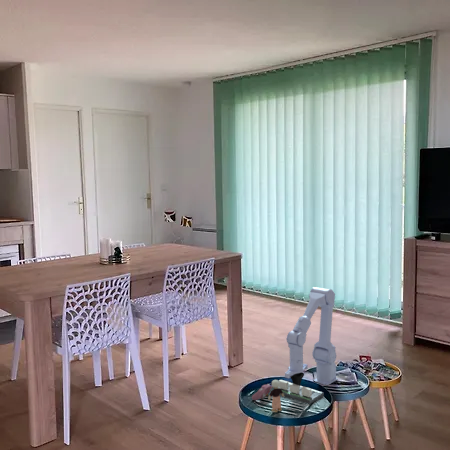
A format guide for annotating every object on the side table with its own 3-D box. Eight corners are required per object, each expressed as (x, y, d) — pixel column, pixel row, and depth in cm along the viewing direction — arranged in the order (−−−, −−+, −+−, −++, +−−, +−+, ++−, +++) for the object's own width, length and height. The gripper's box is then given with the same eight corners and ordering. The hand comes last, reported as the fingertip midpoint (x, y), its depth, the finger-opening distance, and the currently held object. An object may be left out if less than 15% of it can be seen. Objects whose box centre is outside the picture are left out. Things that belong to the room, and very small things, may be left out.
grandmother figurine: (278, 406, 211) (278, 376, 210) (285, 409, 208) (285, 378, 207) (265, 411, 206) (265, 381, 205) (272, 414, 203) (272, 384, 202)
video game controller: (258, 405, 216) (264, 392, 214) (250, 398, 218) (256, 386, 216) (270, 397, 224) (276, 385, 222) (262, 390, 226) (268, 378, 224)
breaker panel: (287, 385, 233) (287, 381, 233) (323, 395, 220) (323, 392, 220) (273, 392, 225) (273, 389, 225) (309, 404, 212) (309, 400, 212)
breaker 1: (281, 386, 227) (280, 379, 226) (288, 388, 224) (288, 381, 224) (278, 387, 226) (278, 380, 225) (286, 390, 223) (286, 382, 223)
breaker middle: (291, 390, 222) (291, 383, 222) (299, 392, 220) (299, 385, 219) (289, 391, 221) (289, 384, 221) (297, 393, 219) (297, 386, 218)
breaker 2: (303, 393, 219) (303, 386, 218) (311, 396, 216) (311, 388, 216) (301, 394, 217) (301, 387, 217) (309, 397, 215) (309, 389, 214)
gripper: (298, 352, 229) (298, 381, 230) (278, 361, 218) (279, 392, 219) (311, 355, 224) (311, 385, 225) (292, 365, 213) (292, 396, 214)
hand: (296, 389), depth 222 cm, fingers closed
